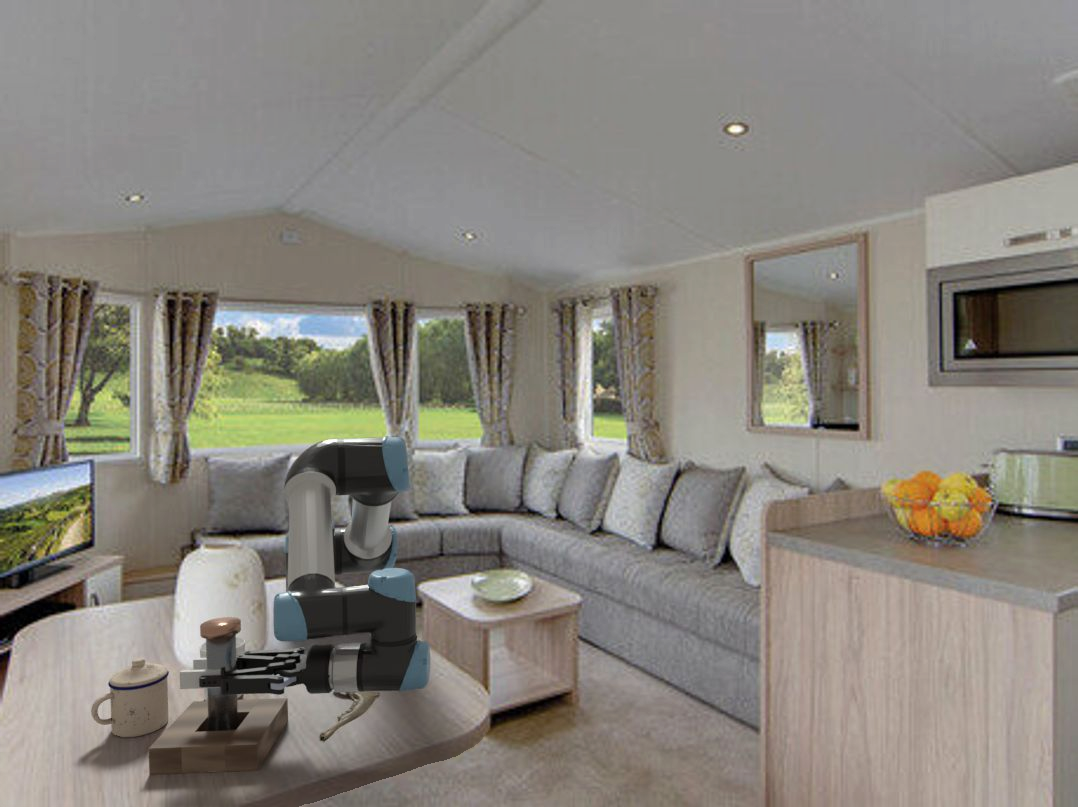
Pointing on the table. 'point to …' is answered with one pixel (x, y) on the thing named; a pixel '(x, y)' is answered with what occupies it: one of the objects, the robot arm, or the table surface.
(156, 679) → the teacup with lid
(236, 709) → the metal pin
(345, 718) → the jawbone
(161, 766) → the socket block
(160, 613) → the table surface
